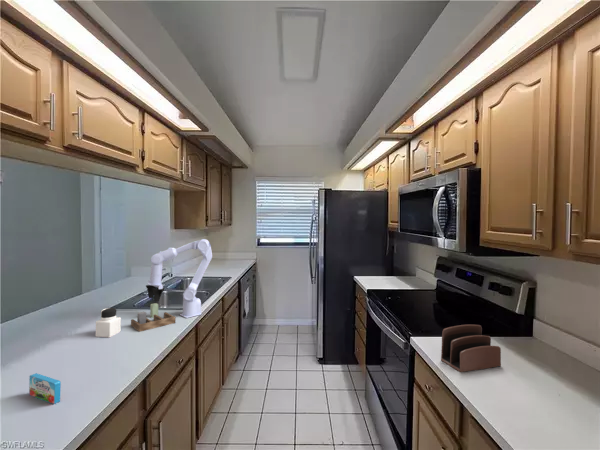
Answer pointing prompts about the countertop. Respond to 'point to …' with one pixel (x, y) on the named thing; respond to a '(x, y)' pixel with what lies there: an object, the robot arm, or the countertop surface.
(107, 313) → the medicine bottle
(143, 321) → the gray block
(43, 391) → the yogurt
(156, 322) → the comb rack
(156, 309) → the sage block
